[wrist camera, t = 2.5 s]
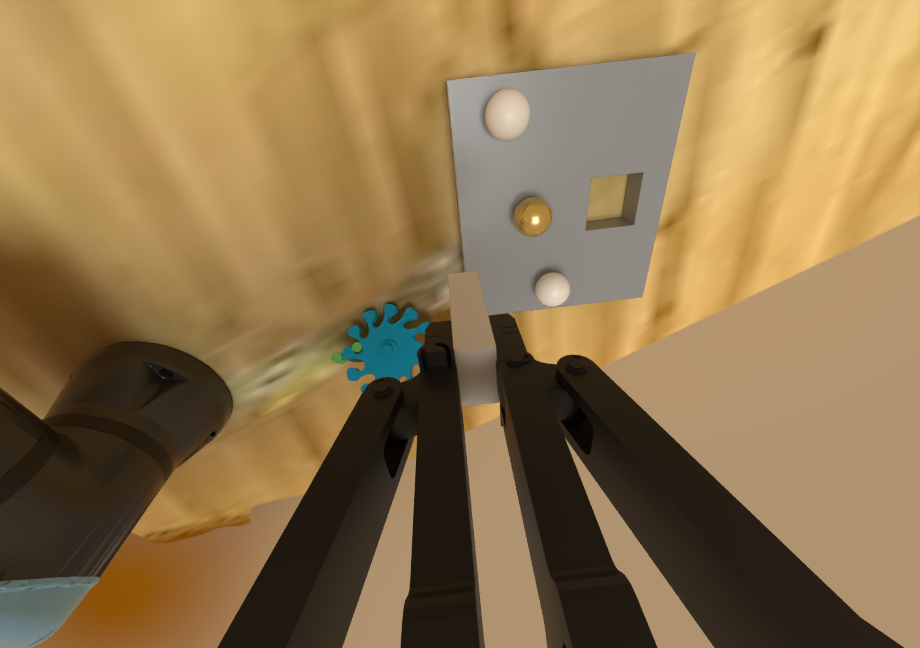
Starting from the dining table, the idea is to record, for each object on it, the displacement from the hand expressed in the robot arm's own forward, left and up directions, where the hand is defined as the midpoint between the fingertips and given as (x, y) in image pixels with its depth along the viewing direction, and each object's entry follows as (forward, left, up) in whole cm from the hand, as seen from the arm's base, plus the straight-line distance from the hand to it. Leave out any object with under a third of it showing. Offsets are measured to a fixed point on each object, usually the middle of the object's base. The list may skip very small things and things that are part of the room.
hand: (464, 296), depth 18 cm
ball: (+7, 0, -12) cm, 14 cm away
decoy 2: (+5, +7, -12) cm, 15 cm away
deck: (+10, 0, -17) cm, 19 cm away
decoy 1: (+9, -7, -12) cm, 17 cm away
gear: (-8, -12, -17) cm, 22 cm away
